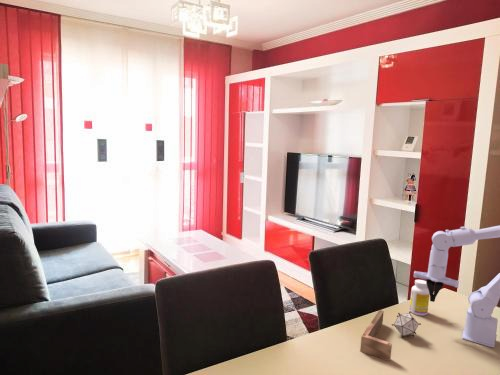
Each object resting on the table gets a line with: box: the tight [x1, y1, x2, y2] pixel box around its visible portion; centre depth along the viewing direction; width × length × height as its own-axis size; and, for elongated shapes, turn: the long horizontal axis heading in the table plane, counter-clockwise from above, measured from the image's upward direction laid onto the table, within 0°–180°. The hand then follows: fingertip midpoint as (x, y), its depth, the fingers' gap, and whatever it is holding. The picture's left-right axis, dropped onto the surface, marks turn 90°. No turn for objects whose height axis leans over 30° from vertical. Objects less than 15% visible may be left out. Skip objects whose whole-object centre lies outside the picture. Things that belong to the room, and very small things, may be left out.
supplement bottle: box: [408, 279, 430, 317], centre depth 148 cm, size 7×7×13 cm
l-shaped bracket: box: [359, 309, 393, 362], centre depth 127 cm, size 9×24×5 cm, turn 148°
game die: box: [391, 311, 422, 339], centre depth 130 cm, size 9×8×10 cm
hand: (432, 300), depth 136 cm, fingers closed
